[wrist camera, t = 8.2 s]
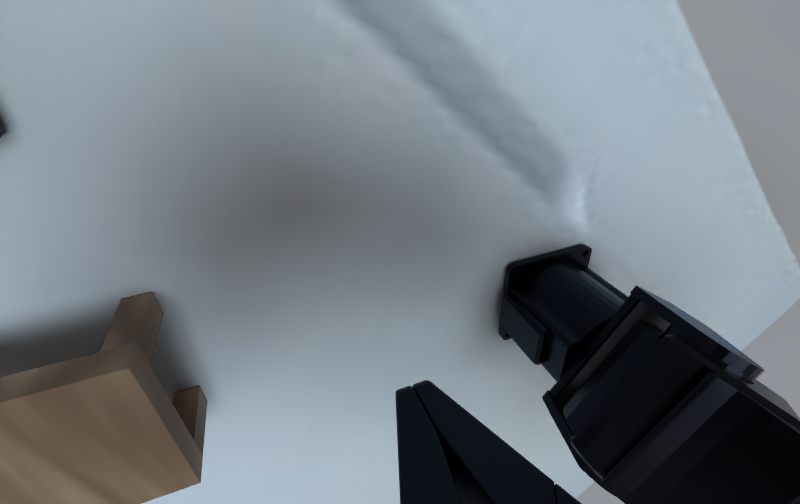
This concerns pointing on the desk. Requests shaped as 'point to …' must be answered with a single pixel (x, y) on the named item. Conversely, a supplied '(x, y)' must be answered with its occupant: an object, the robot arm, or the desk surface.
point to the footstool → (100, 423)
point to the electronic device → (1, 129)
